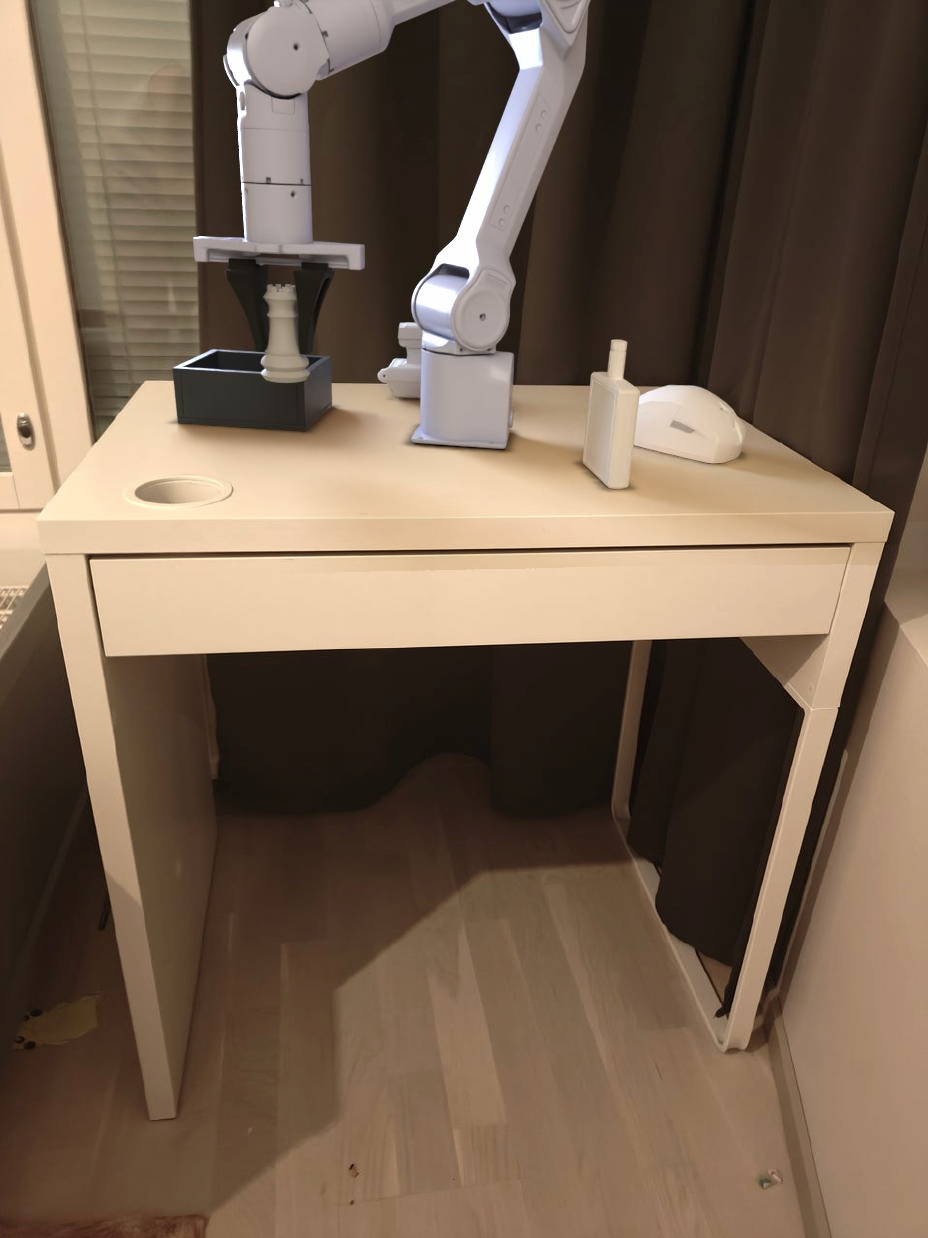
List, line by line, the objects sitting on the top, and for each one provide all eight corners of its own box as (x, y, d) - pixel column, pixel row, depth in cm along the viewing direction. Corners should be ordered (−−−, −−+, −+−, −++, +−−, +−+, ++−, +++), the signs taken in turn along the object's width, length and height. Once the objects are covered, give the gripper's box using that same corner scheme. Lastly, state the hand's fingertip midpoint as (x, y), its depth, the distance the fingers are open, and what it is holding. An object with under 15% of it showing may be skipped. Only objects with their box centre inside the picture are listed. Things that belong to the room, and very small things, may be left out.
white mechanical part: (452, 392, 113) (455, 321, 110) (450, 403, 107) (452, 329, 104) (380, 388, 113) (380, 318, 110) (374, 400, 107) (374, 326, 104)
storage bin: (332, 406, 104) (331, 356, 101) (305, 431, 93) (303, 376, 91) (216, 398, 105) (212, 348, 102) (177, 422, 94) (172, 367, 92)
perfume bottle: (580, 463, 87) (593, 333, 82) (600, 462, 87) (614, 333, 82) (607, 489, 80) (623, 348, 75) (629, 488, 80) (646, 348, 75)
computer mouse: (720, 467, 88) (731, 402, 85) (608, 439, 95) (614, 379, 93) (750, 455, 92) (762, 392, 89) (641, 429, 100) (648, 371, 97)
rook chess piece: (320, 378, 84) (318, 286, 80) (287, 385, 80) (283, 289, 77) (283, 371, 86) (279, 281, 82) (250, 378, 82) (244, 284, 79)
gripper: (173, 180, 73) (189, 354, 79) (352, 188, 72) (354, 363, 78) (204, 180, 79) (217, 341, 85) (369, 187, 78) (369, 350, 84)
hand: (284, 351), depth 82 cm, fingers closed on rook chess piece, 3 cm apart
